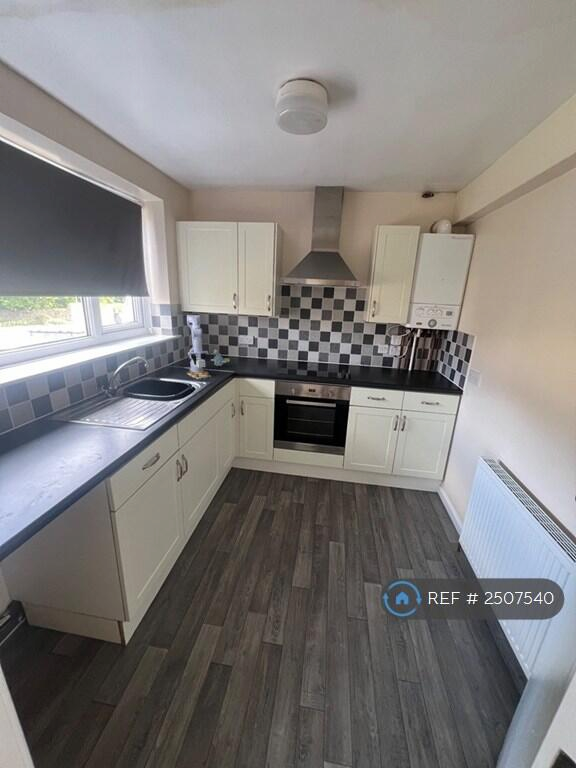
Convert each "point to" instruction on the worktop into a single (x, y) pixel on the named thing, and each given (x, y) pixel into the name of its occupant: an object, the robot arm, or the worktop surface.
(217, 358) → the toy figure
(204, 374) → the cradle jig
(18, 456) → the worktop surface
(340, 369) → the worktop surface
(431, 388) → the worktop surface
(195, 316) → the robot arm
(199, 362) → the block
